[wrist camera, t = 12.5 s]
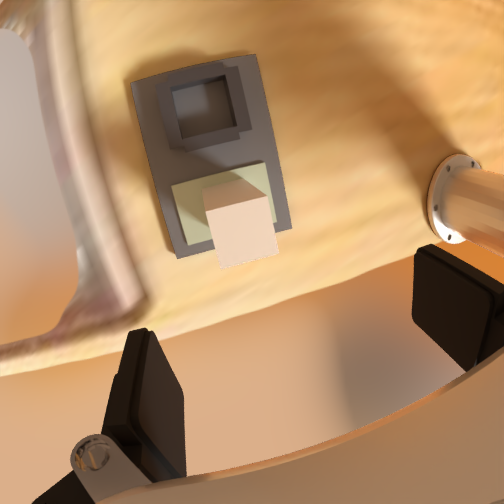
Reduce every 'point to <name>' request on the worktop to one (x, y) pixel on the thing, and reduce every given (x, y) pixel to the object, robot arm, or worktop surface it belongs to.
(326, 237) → the worktop surface
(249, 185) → the plug
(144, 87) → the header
